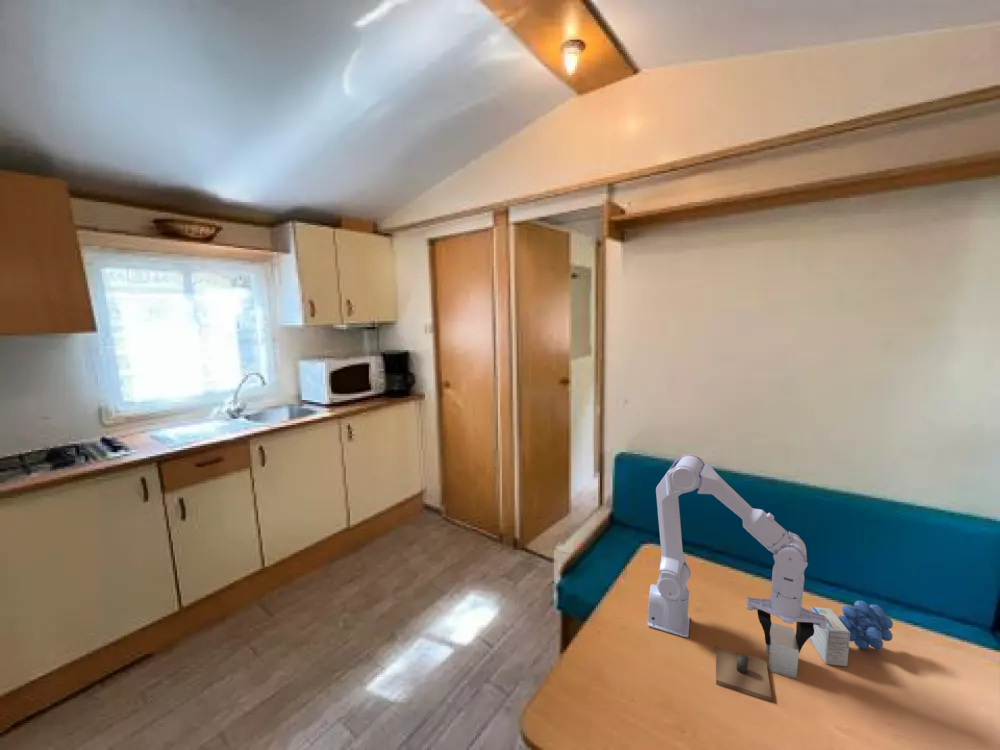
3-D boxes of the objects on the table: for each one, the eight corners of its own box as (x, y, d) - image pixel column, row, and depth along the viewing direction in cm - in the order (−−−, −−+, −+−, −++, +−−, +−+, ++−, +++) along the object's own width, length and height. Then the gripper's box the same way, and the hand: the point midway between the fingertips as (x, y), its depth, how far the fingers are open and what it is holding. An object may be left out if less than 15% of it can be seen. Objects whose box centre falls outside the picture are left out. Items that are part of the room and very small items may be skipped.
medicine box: (847, 667, 94) (851, 632, 93) (824, 664, 95) (828, 630, 94) (828, 640, 102) (831, 608, 101) (807, 638, 103) (810, 605, 101)
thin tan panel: (716, 683, 91) (717, 667, 90) (715, 650, 100) (716, 634, 99) (771, 701, 87) (772, 684, 86) (765, 664, 95) (767, 649, 95)
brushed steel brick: (769, 670, 94) (771, 642, 93) (765, 648, 100) (767, 621, 99) (796, 679, 92) (799, 650, 91) (791, 655, 98) (793, 628, 97)
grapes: (847, 661, 96) (853, 613, 94) (828, 638, 103) (833, 593, 101) (904, 665, 94) (911, 616, 93) (881, 641, 101) (887, 596, 99)
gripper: (749, 592, 93) (745, 647, 95) (832, 611, 86) (826, 670, 88) (747, 574, 99) (743, 626, 101) (824, 591, 93) (818, 646, 95)
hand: (781, 645), depth 95 cm, fingers closed on brushed steel brick, 5 cm apart
